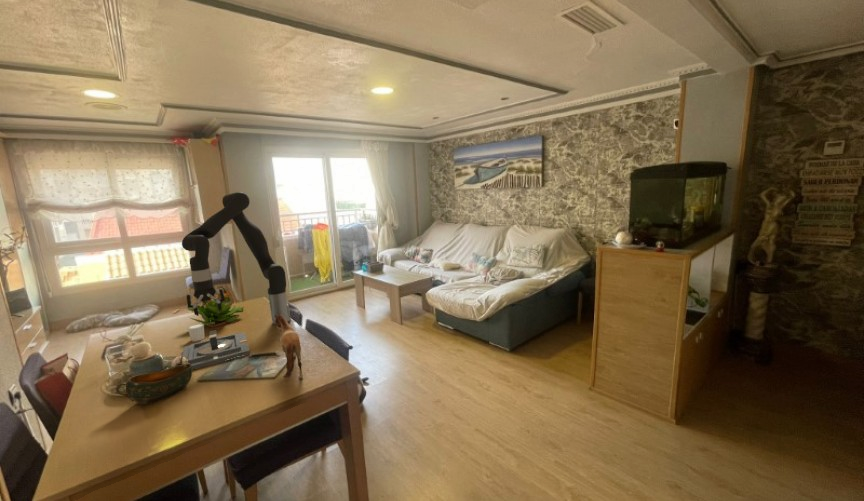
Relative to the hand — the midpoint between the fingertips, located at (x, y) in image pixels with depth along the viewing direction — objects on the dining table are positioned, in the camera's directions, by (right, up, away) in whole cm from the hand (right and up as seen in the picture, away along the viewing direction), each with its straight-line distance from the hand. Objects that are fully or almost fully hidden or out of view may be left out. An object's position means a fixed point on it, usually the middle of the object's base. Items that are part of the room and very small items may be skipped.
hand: (208, 313), depth 160 cm
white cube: (-19, -17, +21) cm, 34 cm away
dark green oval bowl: (+1, -26, -30) cm, 39 cm away
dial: (+1, -17, +3) cm, 17 cm away
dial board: (+1, -19, +4) cm, 20 cm away
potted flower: (-22, -14, +41) cm, 48 cm away
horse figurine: (+43, -21, -19) cm, 52 cm away
